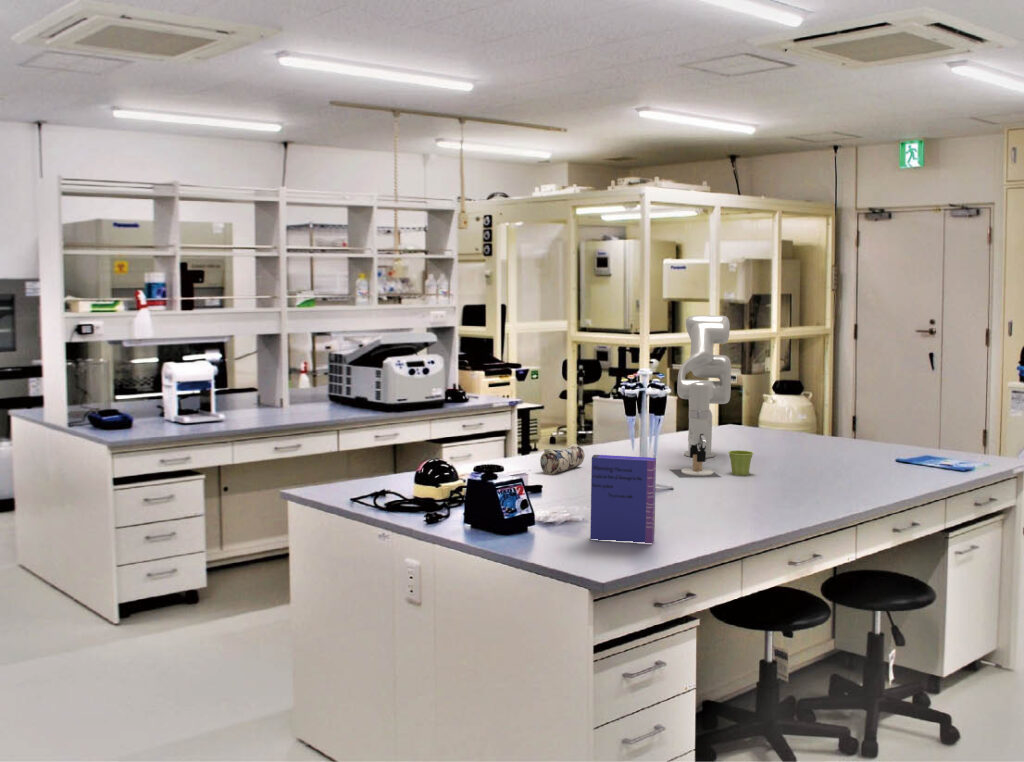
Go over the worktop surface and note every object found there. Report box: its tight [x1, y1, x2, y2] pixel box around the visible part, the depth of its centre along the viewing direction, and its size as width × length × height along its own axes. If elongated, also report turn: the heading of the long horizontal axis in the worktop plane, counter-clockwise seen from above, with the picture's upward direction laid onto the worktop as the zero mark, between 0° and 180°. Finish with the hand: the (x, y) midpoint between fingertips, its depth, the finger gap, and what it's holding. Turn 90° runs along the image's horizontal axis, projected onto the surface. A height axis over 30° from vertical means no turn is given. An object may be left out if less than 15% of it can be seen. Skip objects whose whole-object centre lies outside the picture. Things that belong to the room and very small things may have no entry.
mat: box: [668, 468, 722, 479], centre depth 388 cm, size 16×16×1 cm
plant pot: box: [727, 450, 754, 476], centre depth 388 cm, size 9×9×9 cm
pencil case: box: [539, 443, 586, 475], centre depth 394 cm, size 22×8×10 cm, turn 148°
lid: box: [681, 454, 715, 476], centre depth 388 cm, size 12×12×7 cm
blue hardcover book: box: [589, 454, 657, 544], centre depth 288 cm, size 17×5×24 cm, turn 75°
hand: (697, 459), depth 387 cm, fingers open, 9 cm apart
